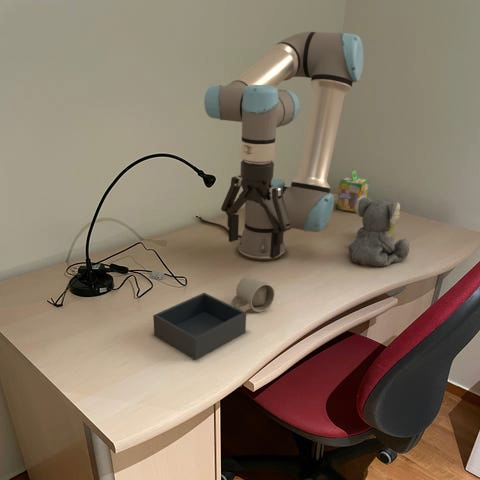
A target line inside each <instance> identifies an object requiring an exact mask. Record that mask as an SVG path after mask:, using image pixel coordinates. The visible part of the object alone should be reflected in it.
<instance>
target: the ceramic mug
mask: <svg viewBox="0 0 480 480" xmlns="http://www.w3.org/2000/svg"><path fill="white" fill-rule="evenodd" d="M235 291H236V295H235V296H233V298H231V300H230V302H229V305H231V306H233V307H235V304H236V303H237V302H238V301H241V302H242V303H243V304H244V305H243V306H240V307H236V308H237V309H239V310H241V311H244V312H246V311H248V310H250V309H251V310H252V311H254V312H257V313H261V312H264V311H266V310H268V309H269V308H270V307H271V305H272V304H273V302H274V300H275V288H274V287H273V286H272V285H271V284H270V283H267V282H266V281H264V280H262V279H260V278H257V277H255V276H252V275H249V276H244V277H243V278H242V279H240V281H239V282H238V283H237V285H236V289H235Z"/></svg>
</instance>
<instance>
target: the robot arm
mask: <svg viewBox="0 0 480 480" xmlns="http://www.w3.org/2000/svg"><path fill="white" fill-rule="evenodd" d="M363 69H364V46H363V42H362V39H361V37H360V36H359V35H357V34H354V33H346V32H322V31H321V32H320V31H303V32H299V33H296V34H293V35H291V36H288V37H286V38H284V39H282V40H281V41H278V42H277V43H276V44H274V45H273V46H271V47H270V49H269V50H268V52H267V53H266V56H265V57H263V58H262V59H260V60H259V61H257V62H256V63H255V64H254V65H252V66H251V67H249V69H247V70H246V71H245V72H242V74H240V75H239V76H238V77H236V78H235V79H233V80H232V81H231V82H230V83H228V84H227V85H221V84H219V85H211V86H209V87H208V88H207V89H206V92H205V95H204V100H203V101H204V103H203V104H204V110H205V113H206V115H207V116H208V117H209V118H211V119H215V120H220V121H229V122H237V123H241V149H240V158H241V159H242V160H241V161H240V174H239V175H235V176H232V177H231V179H230V186H229V189H228V190H227V193H226V196H225V198H224V200H223V202H222V205H221V207H220V210H221V212H225V214H226V216H227V221H226V223H227V226H225V225H223V224H220V223H217V222H212V221H209V220H206V219H203V218H202V216H201V217H198V216H196V215H195V218H198V219H199V221H201V222H203V223H205V224H208V225H212V226H216V227H219V228H220V229H221V228H222V229H223V230H224V231H225V232H227V233H228V242H229V243H232V242H235V241H238V240H239V239H240V240H239V242H238V244H237V245H238V246H237V252H238V254H239V255H240V256H242V257H243V258H245V259H248V260H252V261H259V262H270V261H276V260H279V259H281V258H283V257H284V256H285V254H286V243H285V242H284V233H285V232H287V231H289V230H292V229H296V230H301V231H304V232H313V233H319V232H320V231H322V230H324V228H325V227H326V226H327V224H328V223H329V220H330V218H331V216H332V214H333V210H334V207H335V196H334V195H333V194H332V193H330V192H331V187H332V186H330V184H329V183H328V176H329V173H330V169H331V168H330V166H331V162H332V159H333V158H332V156H333V152H334V148H335V143H336V138H337V134H338V128H339V124H340V118H341V114H342V110H343V105H344V99H345V96H346V95H347V93H349V92H351V91H352V88H353V83H357V82H359V81H360V80H361V77H362V74H363ZM293 78H308V79H310V85H311V86H312V88H313V97H312V103H311V106H310V112H309V117H308V121H307V122H308V123H307V128H306V131H305V132H306V133H305V137H304V144H303V148H302V154H301V159H300V164H299V169H298V174H297V176H296V177H294V178H293V179H292V180H291V182H290V186H285V185H286V183H285V180H284V179H282V178H278V177H277V178H276V177H274V170H275V169H274V168H275V163H274V160H275V155H276V135H277V128H279V127H283V126H287V125H289V124H291V122H293V121H294V120H295V119H296V118H297V117H298V115H299V113H300V108H301V107H300V106H301V105H300V100H299V98H298V96H297V95H296V93H294V92H293V91H291V90H289V89H278V88H277V86H278V85H279V84H280V83H282V82H284V81H285V82H286V81H289V80H291V79H293ZM241 188H242V191H241V192H240V190H241ZM239 192H240V193H239ZM237 196H238V197H237ZM243 206H244V226H243V227H244V228H243V231H242V234H241V235H240V234H239V229H240V228H239V226H240V222H239V221H240V215H239V214H238V211H240V209H241V208H242V207H243Z"/></svg>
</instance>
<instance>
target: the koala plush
mask: <svg viewBox="0 0 480 480" xmlns="http://www.w3.org/2000/svg"><path fill="white" fill-rule="evenodd" d="M356 202H357V204H356V205H355V207H356V208H355V211H356V212H355V214H357V216H358V217H360V218H362V220H361V221H362V227H360V228H359V229H358V231H357V232H356V236H355V238H356V240H353V241H352V242H351V243H350V244H349V246H348V249H347V250H348V253H349V255H350V256H351V261H353V262H354V263H356V264H359V265H361V266H367V265H370V266H373V267H387V266H389V265H390V264H393V263H394V264H395V263H399V262H402V261H404V260H405V259H407V257H408V256H409V253H410V241H409V240H408V239H407V238H402V239H401V238H400V239H399V240H397V241H396V242H395V243H394V241H393V239H392V236H391V237H389V235H388V231H389V230H390V228H391V227H392V226H394V224H395V225H396V223H398V220H399V218H398V214H399V215H400V214H401V212H400V209H401V203H399V202H393V203H389V202H387V200H384V199H376V200H374V201H372V199H370V198H369V197H368V196H367V197H365V196H363V197H359V198H358V199H357V201H356ZM397 219H398V220H397ZM396 220H397V221H396ZM395 222H396V223H395ZM394 227H395V226H394Z"/></svg>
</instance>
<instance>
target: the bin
mask: <svg viewBox="0 0 480 480" xmlns="http://www.w3.org/2000/svg"><path fill="white" fill-rule="evenodd" d="M237 308H238V307H235V306H234V307H233V306H231V305H230V303H227V302H225V301H223V300H221V299H218V298H217V297H215V296H212V295H210V294H208V293H206V292H202V293H200V294H198V295H196V296H194V297H191V298H189V299H186V300H185V301H182V302H180V303H178V304H175V305H173V306H171V307H169V308H167V309H164V310H161V311H160V312H157V313H155V314H153V315H152V318H153V334H154V337H156V338H158V339H160V341H162V342H164V343H166V344H168V345H169V346H171V347H172V348H175V349H176V350H177V351H180V352H181V353H183V354H184V355H185V356H188V357H190V358H191V359H193V360H194V361H197V360H199V359H201V358H203V357H205V356H206V355H208V354H210V353H211V352H214V351H215V350H217V349H219V348H220V347H222V346H225V345H226V344H228V343H230V342H232V341H233V340H235V339H237V338H239V337H241V336H242V335H245V334H246V333H247V331H246V330H247V329H246V328H247V312H246V311H241V310H239V309H237Z"/></svg>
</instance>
